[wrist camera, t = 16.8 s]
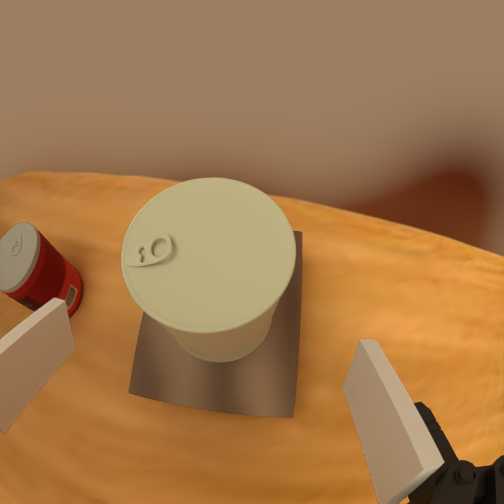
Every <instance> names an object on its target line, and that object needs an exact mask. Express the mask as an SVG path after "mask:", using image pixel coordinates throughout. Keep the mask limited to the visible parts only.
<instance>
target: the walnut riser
mask: <svg viewBox="0 0 504 504" xmlns="http://www.w3.org/2000/svg"><path fill="white" fill-rule="evenodd" d="M293 233H294V237H295V242H296V261H295V267H294V271H293V274H292V277H291V280H290V282H289V284H288V286H287V288H286V290H285V291H284V293H283V294H282V296H281V298H280V300H279V302H278V305H277V307H276V309H275V311H274V314H273V316H272V322H271V326H270V329H269V331H268V333H267V335H266V337H265V339H264V340H263V342H262V343H261V344H260V345H259V346H258V347H257V348H256V349H255V350H254V351H252V352H251V353H250V354H248V355H246V356H244V357H242V358H240V359H237V360H234V361H229V362H210V361H206V360H202V359H200V358H197V357H195V356H193V355H192V354H190V353H189V352H187V351H186V350H185V349H184V348H183V347H182V346H181V345H180V344H179V343H178V342H177V340H176V339H175V337H174V336H173V335H172V334H171V333H169V332H168V331H167V330H166V329H165V328H164V327H163V326H162V325H161V324H160V323H159V322H157V321H156V320H154V319H153V318H151V317H150V316H149V315H147V314H146V313H145V312H144V313H143V317H142V322H141V326H140V331H139V336H138V341H137V346H136V352H135V357H134V363H133V369H132V375H131V381H130V388H129V393H130V394H134V395H137V396H141V397H145V398H149V399H153V400H157V401H162V402H166V403H171V404H176V405H181V406H186V407H191V408H197V409H203V410H209V411H216V412H224V413H232V414H241V415H251V416H264V417H282V418H293V414H294V403H295V392H296V379H297V366H298V350H299V333H300V311H301V282H302V232H299V231H293Z"/></svg>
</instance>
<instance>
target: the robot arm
mask: <svg viewBox="0 0 504 504" xmlns="http://www.w3.org/2000/svg"><path fill="white" fill-rule="evenodd" d="M75 349H76V346H75V342H74V338H73V334H72V330H71V326H70V321H69V317H68V312H67V307H66V301H65V300H62V299H58V298H53V299H52V300H50V301H49V302H47V303H46V304H45V305H43V306H42V307H41V308H39V309H38V310H37V311H35V312H34V313H33V314H31V315H30V316H29V317H27V318H26V319H25V320H24V321H22V322H21V323H20V324H18V325H17V326H16V327H15V328H13V329H12V330H11V331H10V332H8V333H7V334H6V335H5V336H4V337H2V338H1V339H0V431H1V432H2V433H3V434H4V435H5V434H6V433H7V431H8V430H9V429H10V427H11V426H12V425H13V423H14V422H15V421H16V419H17V418H18V417H19V416H20V414H21V413H22V412H23V410H24V409H25V408H26V407H27V405H28V404H29V403H30V402H31V400H32V399H33V398H34V397H35V396H36V394H37V393H38V392H39V391H40V389H41V388H42V387H43V386H44V385H45V384H46V382H47V381H48V380H49V379H50V378H51V376H52V375H53V374H54V373H55V372H56V371H57V370H58V368H59V367H60V366H61V365H62V364H63V363H64V362H65V360H66V359H67V358H68V357H69V356H70V355H71V354H72V353H73V351H74V350H75ZM342 387H343V390H344V393H345V396H346V399H347V402H348V405H349V408H350V411H351V414H352V418H353V421H354V424H355V427H356V430H357V433H358V436H359V440H360V443H361V446H362V449H363V453H364V456H365V459H366V463H367V466H368V469H369V473H370V476H371V480H372V483H373V487H374V490H375V494H376V498H377V502H378V504H397V503H400V502H401V501H402V500H403V499H405V498H406V497H407V496H408V498H409V500H410V502H409V503H407V504H504V455H503V456H500V457H499V458H498V459H497V460H496V461H495V462H494V463H493V464H492V465H489V466H482V467H475V466H474V465H473V464H472V463H470V462H468V461H465V460H460V461H459V459H458V458H457V457H456V455H455V453H454V451H453V449H452V447H451V445H450V443H449V442H448V440H447V438H446V436H445V434H444V433H443V431H442V430H441V427H440V426H439V424H438V422H436V419H435V417H434V415H433V413H432V412H431V410H430V409H429V408H428V407H426V406H425V405H424V404H423V403H422V402H417V403H413V401H412V400H411V398H410V396H409V394H408V393H407V391H406V389H405V387H404V386H403V384H402V382H401V380H400V379H399V377H398V375H397V374H396V372H395V370H394V369H393V367H392V365H391V364H390V362H389V360H388V359H387V357H386V355H385V354H384V352H383V350H382V349H381V347H380V346H379V344H378V342H377V341H376V339H360V340H359V343H358V346H357V349H356V351H355V354H354V357H353V360H352V363H351V365H350V368H349V371H348V373H347V376H346V379H345V381H344V384H343V386H342Z"/></svg>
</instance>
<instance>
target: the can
mask: <svg viewBox="0 0 504 504" xmlns="http://www.w3.org/2000/svg"><path fill="white" fill-rule="evenodd" d="M295 261H296V242H295V237H294V233H293V230H292V227H291V224H290V222H289V220H288V218H287V217H286V215H285V213H284V212H283V211H282V209H281V208H280V207H279V206H278V205H277V204H276V202H275V201H273V200H272V199H271V198H270V197H269V196H268V195H266V194H265V193H263V192H262V191H260V190H258V189H257V188H255V187H253V186H251V185H248V184H246V183H243V182H239V181H236V180H232V179H226V178H199V179H193V180H189V181H185V182H182V183H179V184H176V185H174V186H171V187H169V188H167V189H165V190H163V191H162V192H160V193H159V194H157V195H156V196H154V197H153V198H152V199H151V200H149V201H148V202H147V203H146V204H145V205H144V206H143V207H142V208H141V209H140V210H139V212H138V213H137V214H136V215H135V217H134V218H133V220H132V222H131V223H130V225H129V227H128V229H127V232H126V234H125V237H124V240H123V244H122V250H121V268H122V274H123V278H124V281H125V284H126V286H127V289H128V291H129V293H130V295H131V296H132V298H133V299H134V301H135V302H136V303H137V304H138V305H139V307H140V308H141V309H142V310H143V311H144V312H145V313H146V314H147V315H149V316H150V317H151V318H153V319H154V320H156V321H157V322H159V323H160V324H161V325H162V326H163V327H164V328H165V329H166V330H167V331H168V332H169V333H171V334H172V335H173V336H174V337H175V339H176V340H177V342H178V343H179V344H180V345H181V346H182V347H183V348H184V349H185V350H186V351H187V352H189V353H190V354H192V355H193V356H195V357H197V358H200V359H202V360H206V361H210V362H229V361H234V360H237V359H240V358H242V357H244V356H246V355H248V354H250V353H251V352H252V351H254V350H255V349H256V348H257V347H258V346H259V345H260V344H261V343H262V342H263V340H264V339H265V337H266V335H267V333H268V331H269V329H270V326H271V322H272V316H273V314H274V311H275V309H276V307H277V305H278V302H279V300H280V298H281V296H282V294H283V293H284V291H285V290H286V288H287V286H288V284H289V282H290V280H291V277H292V274H293V271H294V267H295Z"/></svg>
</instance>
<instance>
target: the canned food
mask: <svg viewBox="0 0 504 504" xmlns="http://www.w3.org/2000/svg"><path fill="white" fill-rule="evenodd" d="M0 290H1V291H2V292H3V293H5V294H6V295H8V296H9V297H11V298H12V299H14V300H16V301H17V302H19V303H21V304H22V305H24V306H26V307H27V308H29V309H31V310H32V311H34V312H35V311H37V310H38V309H39V308H41V307H42V306H43V305H45V304H46V303H47V302H49V301H50V300H52V299H53V298H58V299H62V300H65V301H66V307H67V312H68V317H70V316H71V315H72V314H73V313H74V312H75V311H76V309H77V308H78V306H79V303H80V300H81V297H82V282H81V279H80V276H79V274H78V272H77V270H76V269H75V268H74V267H73V266H72V265H71V264H70V263H69V262H68V261H67V260H66V259H65V258H64V257H63V256H62V255H61V254H60V253H59V252H58V251H57V250H56V249H55V248H54V247H53V246H52V245H51V244H50V243H49V242H48V241H47V239H46V238H45V237H44V236H43V235H42V234H41V233H40V232H39V231H38V230H37V229H36V228H35V227H34V226H33V225H32V224H30V223H27V222H23V223H19V224H17V225H15V226H14V227H12V228H11V229H10V230H9V231H8V232H7V233H6V234H5V235H4V236H3V238H2V239H1V241H0Z"/></svg>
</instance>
